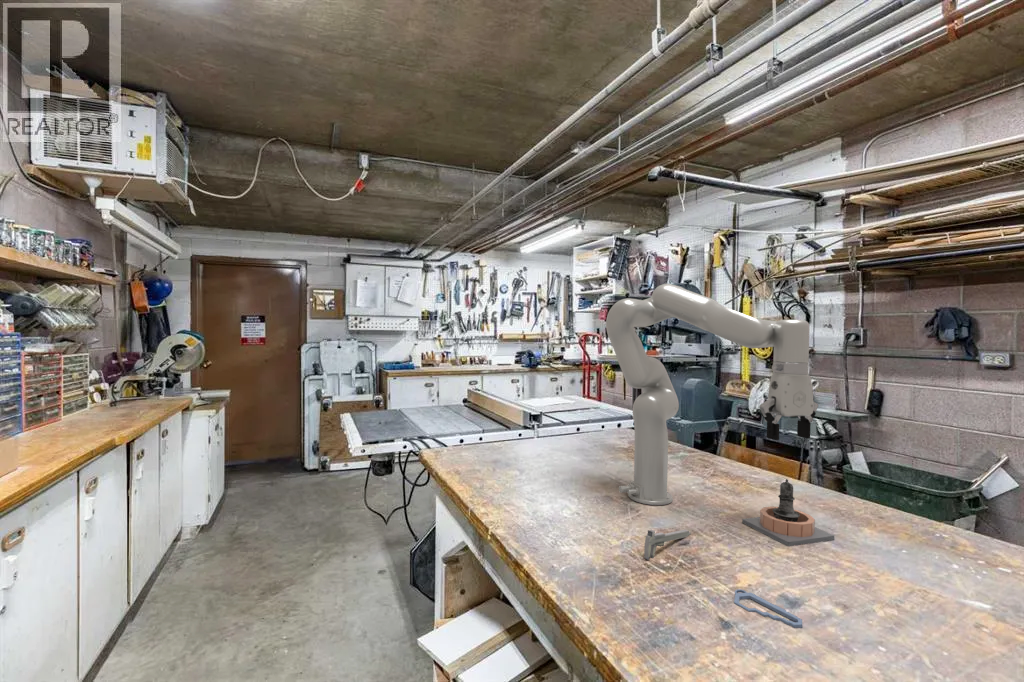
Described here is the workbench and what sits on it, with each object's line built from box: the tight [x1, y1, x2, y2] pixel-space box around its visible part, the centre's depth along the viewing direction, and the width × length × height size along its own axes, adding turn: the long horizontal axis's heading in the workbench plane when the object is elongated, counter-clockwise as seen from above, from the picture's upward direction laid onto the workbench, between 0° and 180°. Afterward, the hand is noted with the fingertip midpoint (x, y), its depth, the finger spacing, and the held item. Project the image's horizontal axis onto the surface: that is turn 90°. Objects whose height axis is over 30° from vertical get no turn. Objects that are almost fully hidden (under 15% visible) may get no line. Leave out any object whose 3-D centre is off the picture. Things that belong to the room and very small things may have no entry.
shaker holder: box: [741, 505, 835, 547], centre depth 117 cm, size 14×14×4 cm
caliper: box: [643, 529, 692, 561], centre depth 107 cm, size 20×1×6 cm, turn 134°
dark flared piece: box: [773, 478, 800, 522], centre depth 117 cm, size 6×6×12 cm
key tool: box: [733, 588, 803, 629], centre depth 82 cm, size 12×1×5 cm
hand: (788, 438), depth 116 cm, fingers open, 9 cm apart
